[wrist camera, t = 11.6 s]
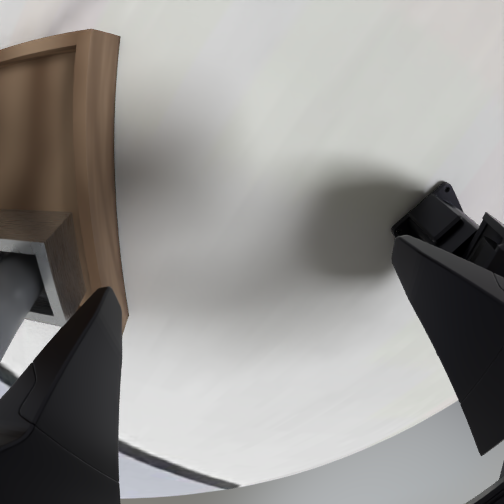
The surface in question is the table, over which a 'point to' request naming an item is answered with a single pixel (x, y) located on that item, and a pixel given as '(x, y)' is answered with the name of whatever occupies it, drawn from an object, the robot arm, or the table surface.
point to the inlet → (47, 259)
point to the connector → (17, 293)
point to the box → (65, 143)
